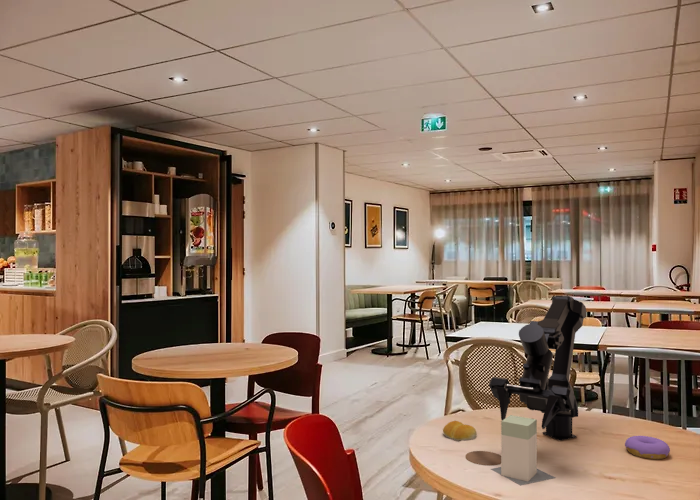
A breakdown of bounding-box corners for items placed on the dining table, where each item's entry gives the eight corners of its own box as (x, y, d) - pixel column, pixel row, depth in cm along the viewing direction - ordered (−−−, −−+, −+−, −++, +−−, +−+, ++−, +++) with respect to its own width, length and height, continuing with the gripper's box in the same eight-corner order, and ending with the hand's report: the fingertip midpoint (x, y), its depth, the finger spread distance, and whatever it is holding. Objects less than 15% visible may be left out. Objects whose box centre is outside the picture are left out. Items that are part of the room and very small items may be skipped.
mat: (524, 464, 132) (524, 462, 132) (556, 479, 122) (556, 477, 122) (490, 470, 127) (490, 468, 127) (520, 487, 118) (520, 485, 118)
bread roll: (464, 444, 146) (464, 429, 146) (438, 436, 152) (438, 421, 152) (483, 438, 151) (483, 423, 151) (457, 430, 158) (457, 416, 158)
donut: (669, 449, 141) (669, 432, 140) (670, 469, 133) (670, 451, 132) (625, 443, 146) (625, 426, 145) (624, 462, 138) (624, 444, 137)
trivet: (487, 451, 140) (487, 448, 140) (511, 463, 132) (511, 460, 132) (458, 456, 136) (458, 454, 136) (481, 469, 128) (481, 466, 128)
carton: (510, 466, 129) (510, 414, 129) (536, 472, 125) (536, 419, 125) (501, 475, 124) (501, 421, 124) (528, 481, 120) (528, 426, 120)
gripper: (582, 392, 135) (571, 451, 126) (507, 382, 146) (491, 435, 136) (575, 365, 129) (562, 424, 119) (497, 356, 139) (479, 409, 130)
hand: (522, 424), depth 127 cm, fingers open, 9 cm apart
